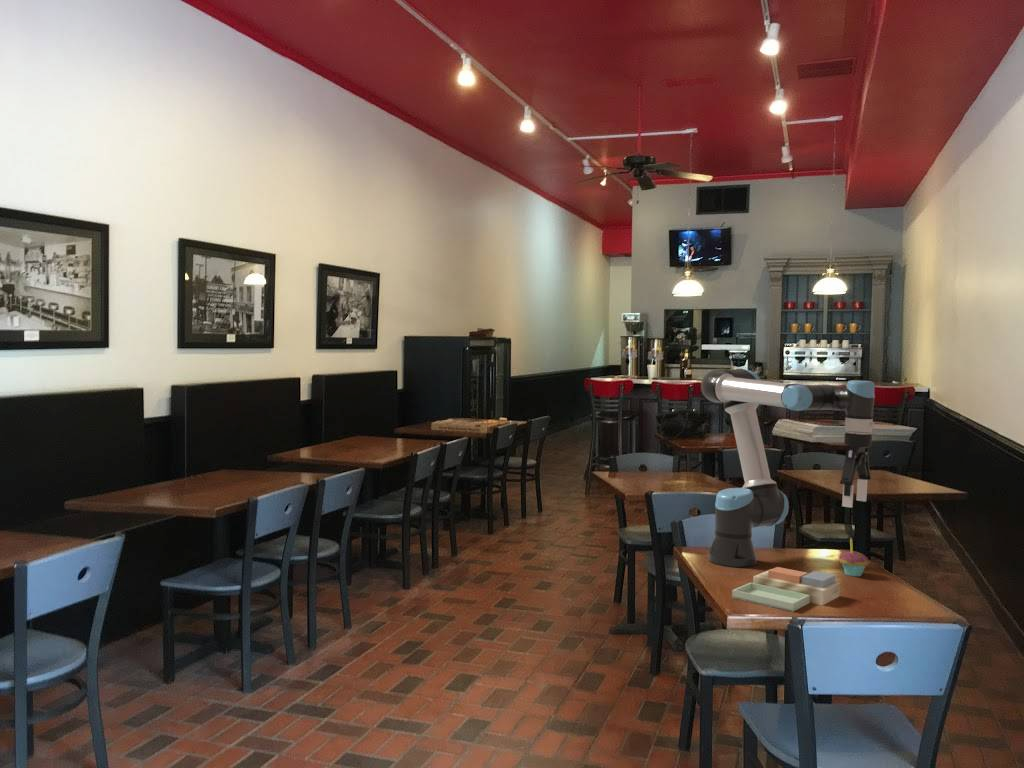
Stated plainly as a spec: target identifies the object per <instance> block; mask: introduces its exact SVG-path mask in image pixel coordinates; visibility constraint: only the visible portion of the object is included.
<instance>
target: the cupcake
mask: <svg viewBox="0 0 1024 768" xmlns="http://www.w3.org/2000/svg"><path fill="white" fill-rule="evenodd" d="M849 544H850V545H849V546H850V549H849V550H850V551H845V552H843V553H841V554H840V555H839V556H838V558H839V560H838V561H839V563H840V564H841V565H842V567H843V570H844V574H845V575H846V576H850V577H861V576H862V575H863V572H864V570H865V568H867V566H869V558H868V557H867V556H866V555H864V554H863V553H862V552H861V553H860V552H859V551H853V549H854V546H853V539H852V538H850V539H849Z"/></svg>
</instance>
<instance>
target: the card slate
mask: <svg viewBox="0 0 1024 768" xmlns="http://www.w3.org/2000/svg"><path fill="white" fill-rule="evenodd" d="M836 576H837V575H836V574H832V573H827V572H821V571H816V570H812V572H809V573H808V574H807V575H804V576H802V584H805V585H810V586H815V587H820V588H825V587H827V586H828V585H830V584H832V583H834V582H836V581H837V579H836V578H837V577H836Z"/></svg>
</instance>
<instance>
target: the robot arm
mask: <svg viewBox="0 0 1024 768" xmlns="http://www.w3.org/2000/svg"><path fill="white" fill-rule="evenodd" d="M701 379H702V380H701V382H700V391H701V393H702V395H703V396H704V397H705V399H707V400H708V401H710V402H712V403H716V404H717V403H718V404H723V408H724V411H725V412H726V413H727V414H729V415H730V419H731V424H732V428H733V434H734V438H735V442H736V447H737V453H738V458H739V461H740V466H741V471H742V476H743V480H744V484H743V486H742V487H730V488H729V487H728V488H725V489H724V488H723V489H722V490H719V491H718V492H717V494H716V496H715V503H714V506H715V507H714V508H715V509H714V510H715V511H714V538H713V539H712V543H711V546H710V547H709V550H708V561H709V562H711V563H713V564H716V565H720V566H725V567H732V568H733V567H734V568H736V567H737V568H740V567H741V568H745V567H748V568H749V567H752V566H755V565H756V564H757V553H756V550H755V547H754V543H753V539H752V534H753V528H762V527H771V526H774V525H778V524H781V523H782V522H784V520H785V519H786V517H787V516H788V513H789V509H790V505H789V503H790V502H789V500H788V497H787V495H786V494H785V493H784V492H783V491H782V490H780V489H778V488H779V487H778V484H777V482H776V481H775V480H773V479H772V478H771V473H770V469H769V464H768V459H767V455H766V450H765V446H764V441H763V436H762V433H761V428H760V423H759V417H758V414H757V409H758V407H759V405H765V406H772V407H778V408H786V409H788V410H790V411H797V412H798V411H799V412H801V411H829V410H830V411H840V412H841V411H842V412H845V420H844V421H845V422H844V431H845V433H844V437H843V438H844V439H843V440H844V442H843V443H844V445H845V446H848V447H850V448H849V450H848V449H846V451H845V459H844V465H843V469H842V474H841V479H840V481H839V483H840V485H842V501H841V502H842V503H841V507H845V508H854V507H853V504H854V487H855V486H854V485H855V484H853V483H854V480H855V476H856V473H857V476H858V478H857V484H856V496H855V497H856V499H855V500H856V501H858V502H863V503H864V502H867V499H868V498H867V495H868V480H869V481H870V480H871V479H872V476H871V469H870V461H869V459H870V457H869V448H870V447H872V443H873V435H872V434H871V433H872V432H873V427H875V425H876V424H875V422H873V421H874V406H875V398H876V395H875V383H874V382H873V381H869V380H859V379H855V380H854V379H852V380H848V381H847V385H845V386H843V385H833V384H832V385H831V384H826V383H825V384H823V383H822V384H815V385H813V384H811V385H810V384H809V385H808V384H798V383H790V382H789V383H788V382H778V381H768V380H761V378H760V377H759V375H758V374H757V373H756V372H754V371H752V370H749V369H743V368H739V369H738V368H737V369H736V368H735V369H732V368H731V369H730V368H729V369H728V368H724V369H723V368H716V369H713V370H709V371H708V372H707V373H706V374H705V375H704V376H703V377H702V378H701Z"/></svg>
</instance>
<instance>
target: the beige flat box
mask: <svg viewBox="0 0 1024 768" xmlns="http://www.w3.org/2000/svg"><path fill="white" fill-rule="evenodd" d="M771 569H772V568H770V569H769V570H771ZM752 579H753V581H752V583H755V584H760V585H765V586H770V587H774V588H779V589H784V590H788V591H793V592H798V593H803V594H807V595H810V603H809V604H815V605H819V606H825V605H826V604H828V603H830V602H833V601H834V600H836V599H838V598H840V582H838V581H835V582H834V583H832V584H830V585H828V586H827V587H825V588H820V587H815V586H810V585H805V584H802V583H800V584H798V583H793V582H788V581H783V580H778V579H773V578H768V570H765V571H763V572H761V573H759V574H756V575H753V578H752Z"/></svg>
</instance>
